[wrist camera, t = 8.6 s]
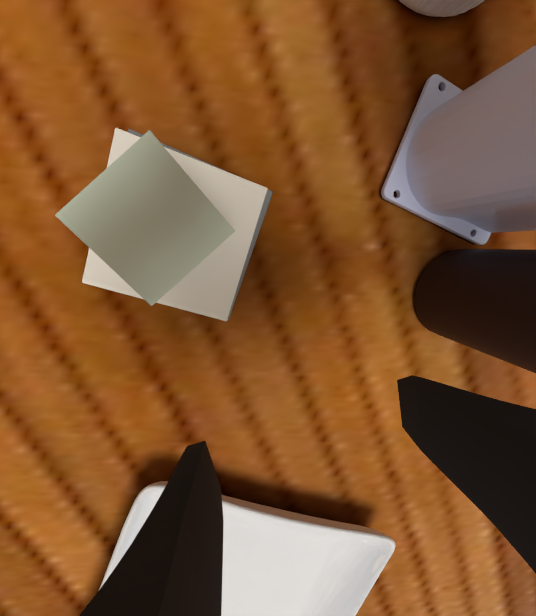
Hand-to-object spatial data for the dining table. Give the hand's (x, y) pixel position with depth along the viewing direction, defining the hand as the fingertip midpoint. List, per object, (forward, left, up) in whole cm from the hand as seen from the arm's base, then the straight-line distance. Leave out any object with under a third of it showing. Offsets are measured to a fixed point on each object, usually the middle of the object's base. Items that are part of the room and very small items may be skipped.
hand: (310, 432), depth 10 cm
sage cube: (+7, -5, -6) cm, 11 cm away
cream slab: (+7, -5, -8) cm, 12 cm away
